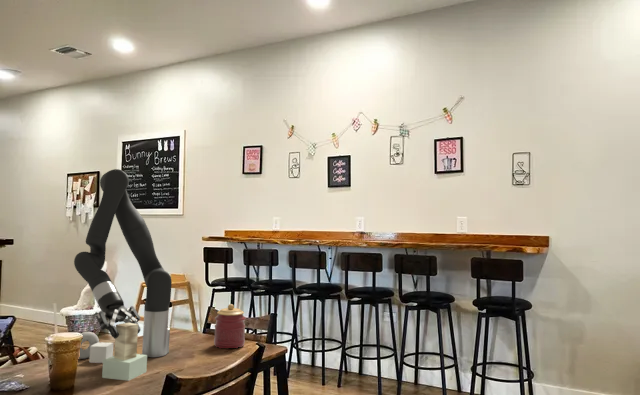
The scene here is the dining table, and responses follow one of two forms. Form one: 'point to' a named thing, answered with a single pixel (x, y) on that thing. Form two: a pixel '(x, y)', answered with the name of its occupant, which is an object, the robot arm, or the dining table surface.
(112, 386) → the dining table surface
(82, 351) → the donut
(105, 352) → the white cube
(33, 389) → the dining table surface
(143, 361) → the sage box
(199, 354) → the dining table surface
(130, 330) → the birch block
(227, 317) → the canister
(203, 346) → the dining table surface
